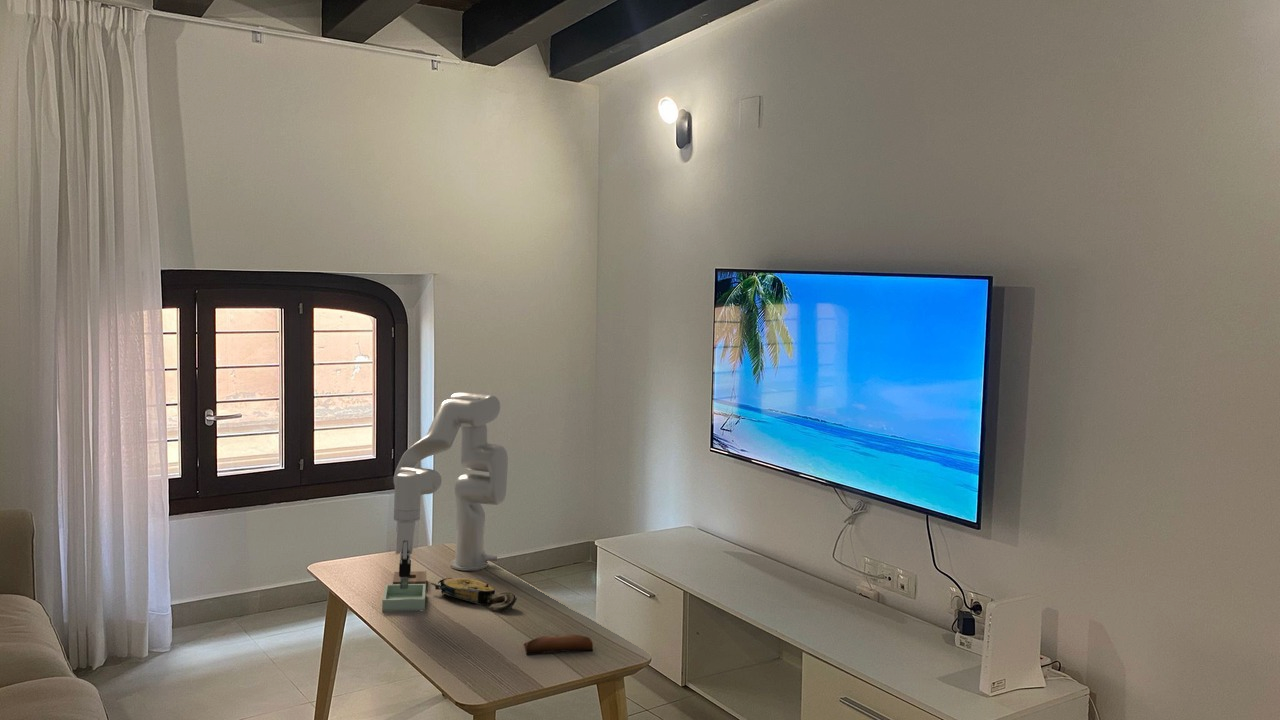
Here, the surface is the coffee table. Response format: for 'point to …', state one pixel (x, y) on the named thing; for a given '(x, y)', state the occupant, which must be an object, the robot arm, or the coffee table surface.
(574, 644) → the sunglasses case
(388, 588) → the tray
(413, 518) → the robot arm
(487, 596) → the pulley block
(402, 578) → the pin
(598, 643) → the coffee table surface
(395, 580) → the block
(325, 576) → the coffee table surface
